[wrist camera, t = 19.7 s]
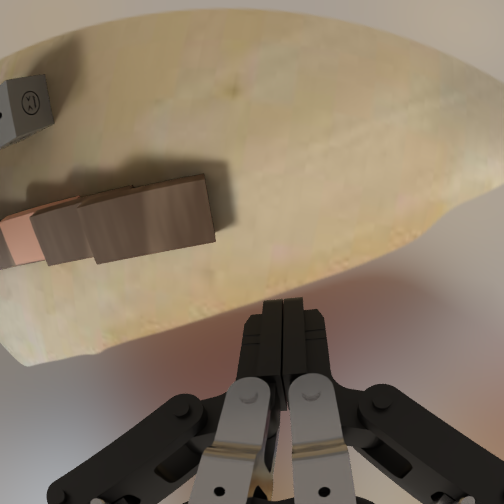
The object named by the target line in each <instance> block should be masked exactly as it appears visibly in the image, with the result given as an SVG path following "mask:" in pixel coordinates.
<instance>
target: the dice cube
mask: <svg viewBox="0 0 504 504" xmlns="http://www.w3.org/2000/svg"><path fill="white" fill-rule="evenodd" d="M53 124H54V120H53V115H52V110H51V106H50V100H49V95H48V90H47V84H46V78H45V74H43V75H35V76H28V77H22V78H15V79H10V80H6V81H4V82H3V83H2V84H1V85H0V150H1V149H3V148H5V147H8V146H10V145H12V144H15V143H17V142H20V141H22V140H24V139H26V138H28V137H30V136H31V135H33V134H35V133H37V132H39V131H41V130H43V129H45V128H47V127H49V126H51V125H53Z"/></svg>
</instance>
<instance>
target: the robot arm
mask: <svg viewBox="0 0 504 504" xmlns="http://www.w3.org/2000/svg"><path fill="white" fill-rule="evenodd" d="M287 402H288V407H289V410H290V420H291V434H292V464H293V481H294V498H290V499H286V500H281V501H271V500H272V494H273V472H274V465H275V459H276V452H277V445H278V438H279V429H280V428H279V426H280V411H287ZM347 446H353V448H354V449H355V450H356V451H357V452H359V453H360V454H361V455H362V456H363V457H364V458H366V459H367V460H368V461H369V462H370V463H372V464H373V465H374V466H375V467H376V468H378V469H379V470H380V471H381V472H382V473H384V474H385V475H386V476H387V477H389V478H390V479H391V480H392V481H394V482H395V483H396V484H397V485H399V486H400V487H401V488H403V489H404V490H405V491H407V492H408V493H409V494H411V495H412V496H413V497H414V498H416V499H417V500H418V501H420V502H421V503H423V504H504V461H502V460H501V459H499V458H498V457H496V456H495V455H493V454H491V453H490V452H489V451H487V450H486V449H484V448H483V447H481V446H480V445H478V444H476V443H475V442H474V441H472V440H471V439H469V438H468V437H466V436H465V435H463V434H462V433H460V432H459V431H457V430H456V429H454V428H453V427H451V426H450V425H448V424H447V423H445V422H444V421H443V420H441V419H440V418H438V417H437V416H435V415H434V414H432V413H431V412H429V411H428V410H427V409H425V408H424V407H422V406H421V405H419V404H418V403H417V402H415V401H413V400H412V399H411V398H409V397H408V396H406V395H405V394H404V393H402V392H401V391H400V390H398V389H397V388H395V387H393V386H391V385H387V384H377V385H373V386H371V387H369V388H368V389H366V390H365V391H360V390H352V389H348V388H345V387H343V386H341V385H339V384H338V383H337V382H336V381H335V380H334V379H333V377H332V375H331V370H330V362H329V353H328V345H327V337H326V330H325V322H324V317H323V316H322V315H321V313H320V312H319V311H318V310H317V309H312V310H304V309H303V298H302V297H299V298H288V299H284V304H283V299H277V300H266V301H264V302H263V311H262V314H256V315H251V316H250V317H249V319H248V320H247V322H246V323H245V325H244V332H243V339H242V346H241V351H240V358H239V364H238V372H237V377H236V381H235V382H234V383H233V384H232V385H231V386H230V387H229V389H228V391H227V392H225V393H224V394H222V395H219V396H217V397H213V398H209V399H205V400H201V401H200V400H199V399H198V398H197V397H196V396H194V395H191V394H179V395H176V396H174V397H172V398H171V399H169V400H168V401H167V402H166V403H164V404H163V405H162V406H160V407H159V408H158V409H157V410H155V411H154V412H153V413H151V414H150V415H149V416H147V417H146V418H145V419H143V420H142V421H141V422H139V423H138V424H137V425H135V426H134V427H133V428H131V429H130V430H129V431H127V432H126V433H125V434H123V435H122V436H120V437H119V438H118V439H116V440H115V441H114V442H112V443H111V444H110V445H108V446H107V447H105V448H104V449H102V450H101V451H99V452H98V453H97V454H95V455H94V456H92V457H91V458H89V459H88V460H86V461H85V462H83V463H82V464H80V465H79V466H77V467H76V468H75V469H73V470H71V471H70V472H68V473H67V474H65V475H64V476H62V477H61V478H59V479H58V480H56V481H54V482H53V483H52V484H51V485H50V486H49V488H48V491H47V502H48V504H157V503H159V502H160V501H161V500H163V499H164V498H166V497H167V496H168V495H169V494H171V493H172V492H174V491H175V490H176V489H178V488H179V487H180V486H181V485H183V484H184V483H185V482H187V481H188V480H189V479H190V478H192V477H193V476H194V475H195V474H196V478H195V481H194V485H193V488H192V492H191V495H190V499H189V501H188V502H185V503H183V504H374V503H373V502H371V501H369V500H366V499H364V498H360V497H357V496H355V490H354V483H353V476H352V470H351V464H350V458H349V452H348V448H347Z"/></svg>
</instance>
